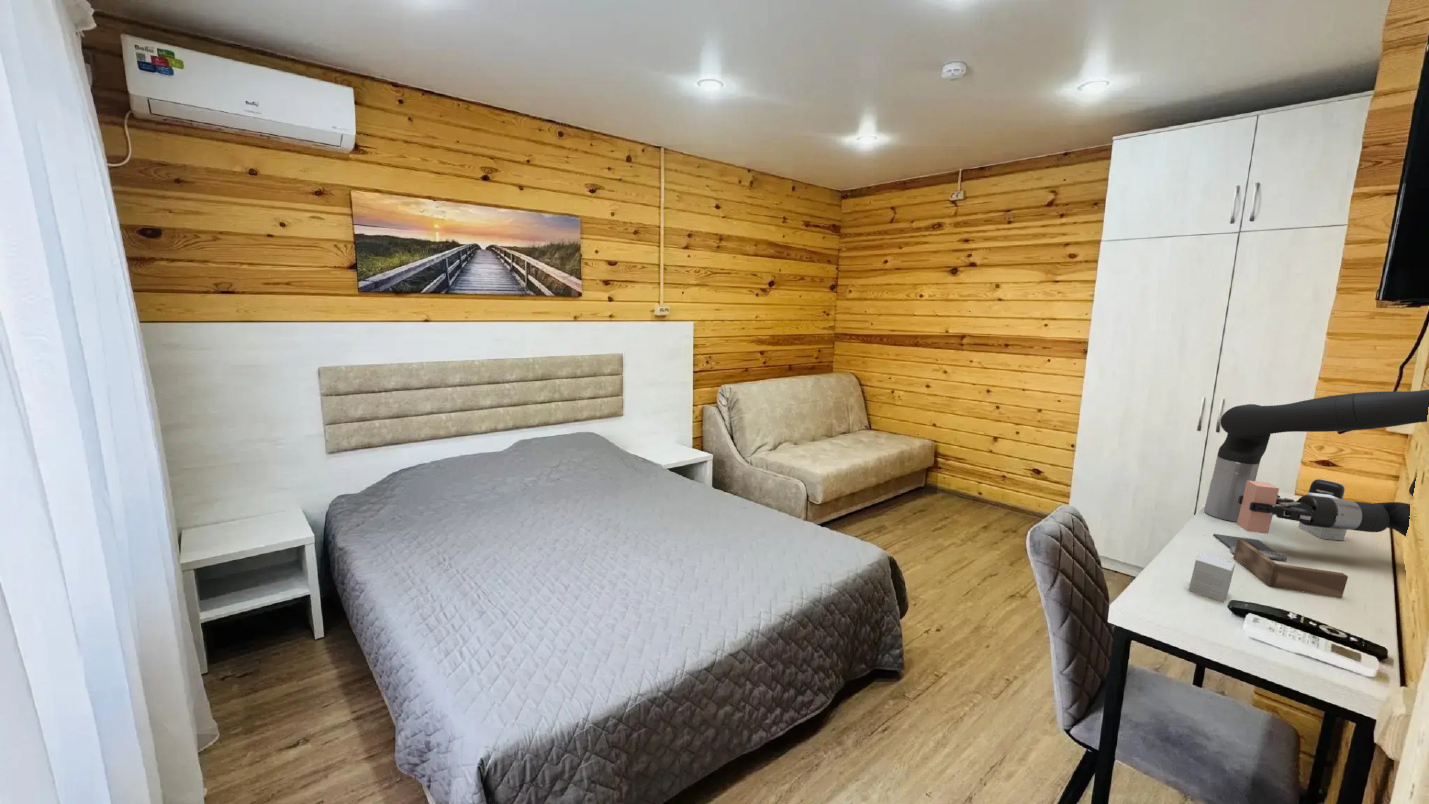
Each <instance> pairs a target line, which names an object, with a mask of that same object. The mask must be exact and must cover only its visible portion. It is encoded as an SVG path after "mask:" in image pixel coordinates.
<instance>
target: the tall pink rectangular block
mask: <svg viewBox="0 0 1429 804" xmlns="http://www.w3.org/2000/svg"><path fill="white" fill-rule="evenodd" d="M1279 490H1280V487H1277V486H1276V485H1274V484H1271V483H1270V482H1267V481H1266V482H1264V481H1257V480H1255V481H1247V482H1246V487H1245V491H1244V495H1243V500H1242V504H1241V508H1240V513H1239V517H1238V521H1237V522H1236V525H1237V526H1238V527H1240V528H1241V529H1243V530H1244V531H1245V532H1250V533H1251V532H1252V533H1259V534H1267V535H1268V534H1269V532H1270V528H1271V525H1272V524H1271V523H1272V519H1273V516H1274V515H1270V514H1269V512H1268V513H1263V512H1254V511H1251V510H1249V507H1250V503H1251V502H1256V503H1265V504H1270V506H1271V504H1276V500H1277V496H1278V495H1279Z"/></svg>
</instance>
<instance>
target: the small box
mask: <svg viewBox="0 0 1429 804" xmlns="http://www.w3.org/2000/svg"><path fill="white" fill-rule="evenodd" d="M1306 495H1311V496H1320V497H1329V498H1337V497H1334V496H1332V495H1328V494H1318V493H1309V492H1306ZM1338 499H1339V498H1338ZM1299 527H1300V528H1299ZM1298 528H1299V529H1301V530H1303V531H1305V530H1306V531H1305V532H1307V533H1309V534H1311V533H1312V534H1311V535H1313V536H1315V537H1317V536H1318V537H1317V538H1318V539H1321V540H1322V539H1324V540H1333V541H1345V537H1346V534H1347V530H1342V529H1331V528H1323V527H1315V526H1307V525H1304V524H1302V523H1301V522H1300V521H1299V524H1298Z"/></svg>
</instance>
